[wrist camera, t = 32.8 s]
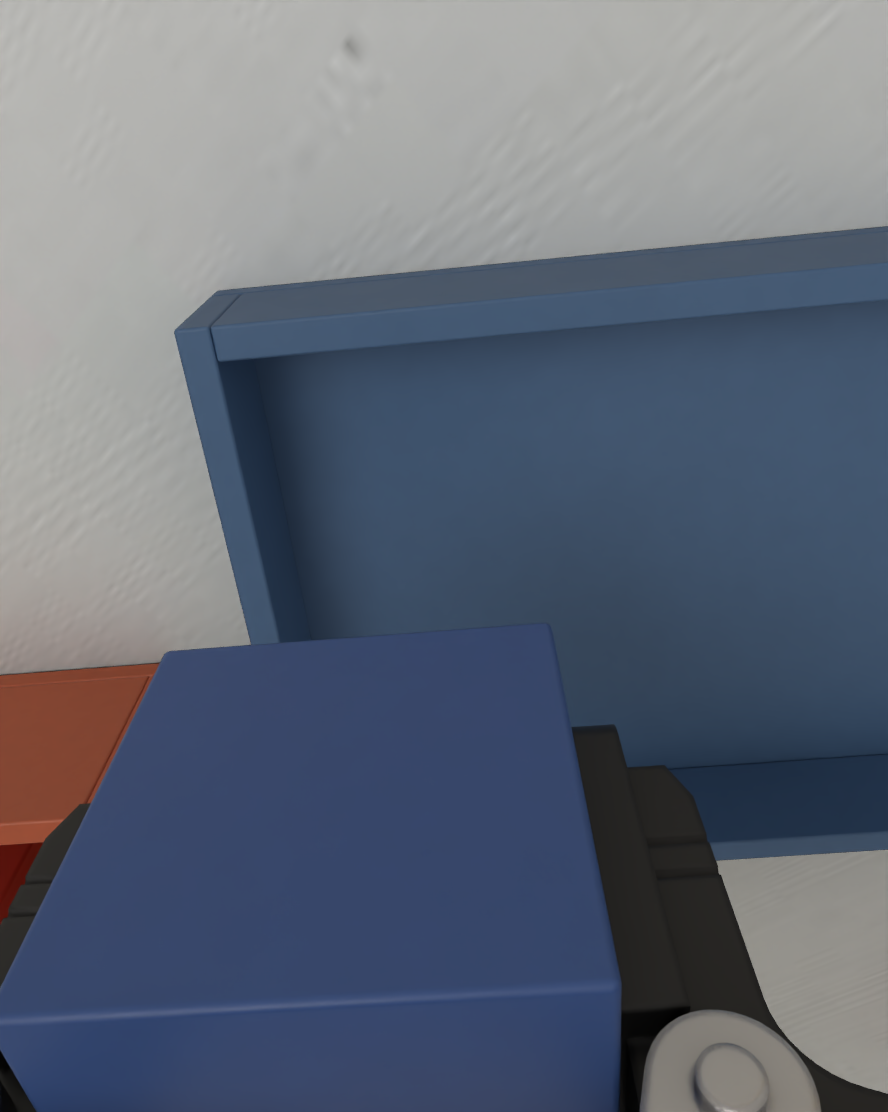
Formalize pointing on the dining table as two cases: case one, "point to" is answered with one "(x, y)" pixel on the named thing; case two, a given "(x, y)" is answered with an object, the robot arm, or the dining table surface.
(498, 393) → the blue tray
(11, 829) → the orange bin
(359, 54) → the dining table surface
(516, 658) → the blue block
